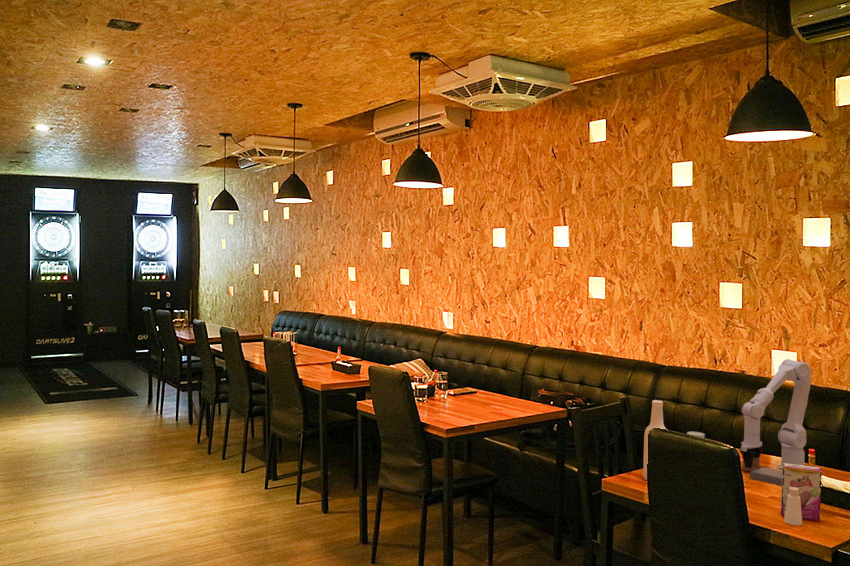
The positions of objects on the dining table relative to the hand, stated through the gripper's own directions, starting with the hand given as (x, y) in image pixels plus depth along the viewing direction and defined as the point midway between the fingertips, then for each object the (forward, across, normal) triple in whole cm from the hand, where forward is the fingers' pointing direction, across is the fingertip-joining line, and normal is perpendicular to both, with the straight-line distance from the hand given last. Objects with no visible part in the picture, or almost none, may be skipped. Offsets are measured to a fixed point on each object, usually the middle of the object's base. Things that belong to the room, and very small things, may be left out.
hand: (751, 466), depth 281 cm
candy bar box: (+2, +42, +35) cm, 55 cm away
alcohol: (+2, +44, -16) cm, 47 cm away
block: (+1, 0, 0) cm, 1 cm away
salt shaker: (+2, +50, +36) cm, 62 cm away
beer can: (+2, +24, -11) cm, 26 cm away
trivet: (+2, +6, +11) cm, 13 cm away
